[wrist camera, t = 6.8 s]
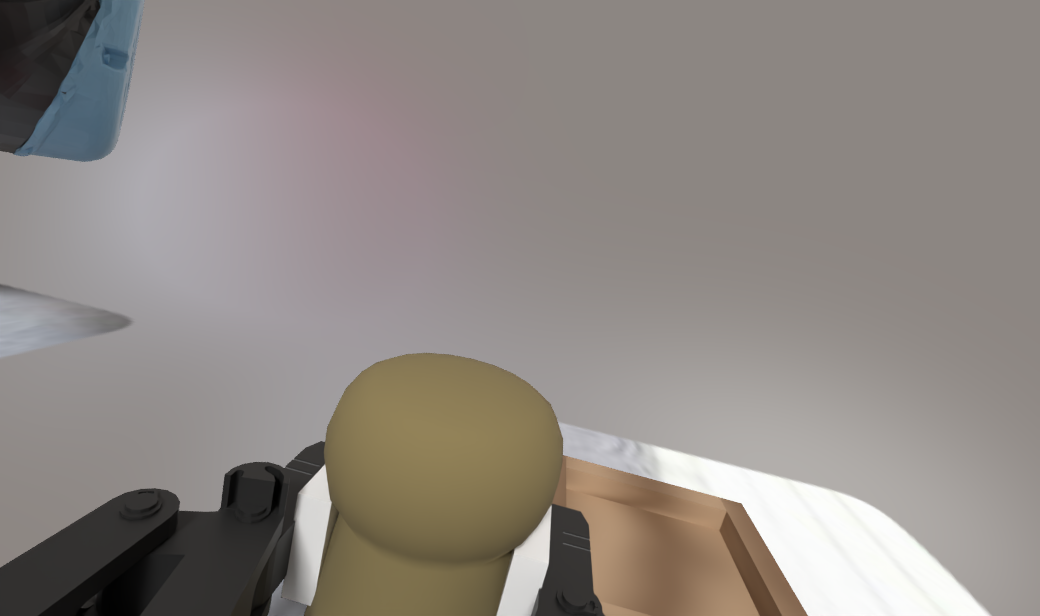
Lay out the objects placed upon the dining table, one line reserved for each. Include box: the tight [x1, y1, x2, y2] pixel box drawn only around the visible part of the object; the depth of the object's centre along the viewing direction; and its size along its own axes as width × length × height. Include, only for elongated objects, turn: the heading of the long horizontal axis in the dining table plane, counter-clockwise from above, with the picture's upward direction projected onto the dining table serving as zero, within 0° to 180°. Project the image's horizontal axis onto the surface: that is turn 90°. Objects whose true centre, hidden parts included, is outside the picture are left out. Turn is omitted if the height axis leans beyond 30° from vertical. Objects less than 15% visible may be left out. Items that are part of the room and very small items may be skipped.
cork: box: [304, 353, 563, 616], centre depth 12 cm, size 6×6×11 cm
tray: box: [552, 455, 808, 616], centre depth 22 cm, size 11×11×2 cm
